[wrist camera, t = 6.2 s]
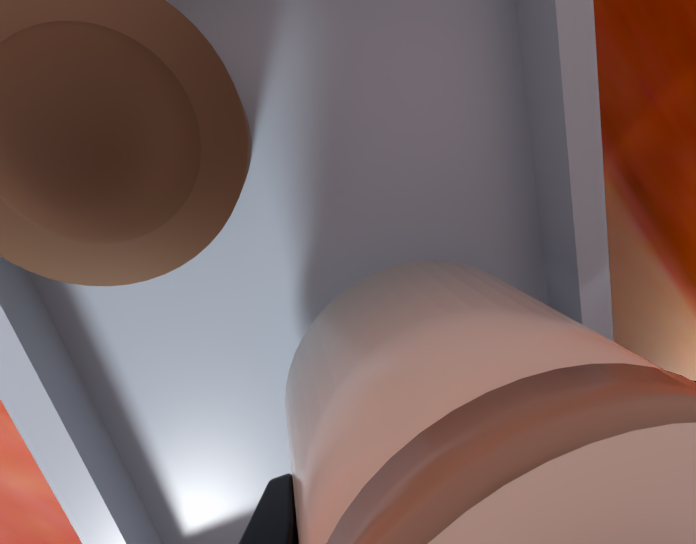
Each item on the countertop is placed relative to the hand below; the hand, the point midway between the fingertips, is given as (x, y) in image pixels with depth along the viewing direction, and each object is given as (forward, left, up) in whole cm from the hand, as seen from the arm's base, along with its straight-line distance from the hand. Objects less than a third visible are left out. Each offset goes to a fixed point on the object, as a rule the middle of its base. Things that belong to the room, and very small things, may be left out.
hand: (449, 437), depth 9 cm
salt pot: (+7, +4, -3) cm, 8 cm away
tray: (+3, +1, -4) cm, 5 cm away
